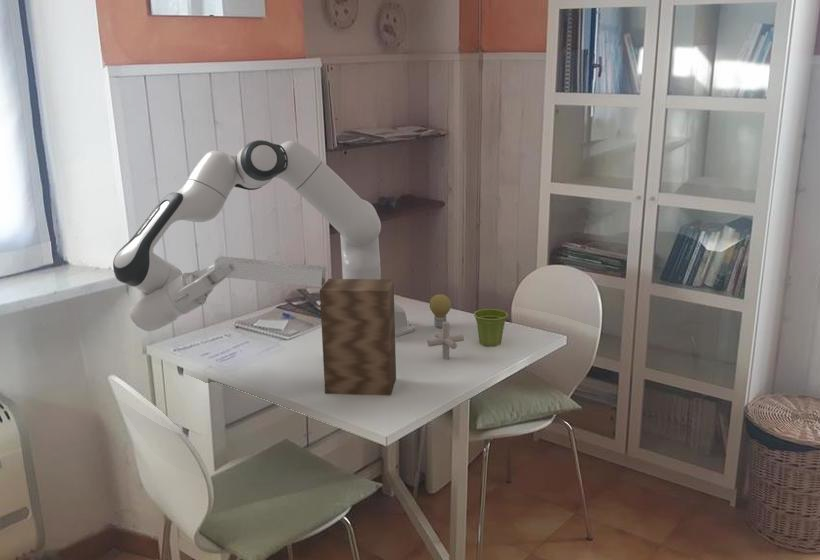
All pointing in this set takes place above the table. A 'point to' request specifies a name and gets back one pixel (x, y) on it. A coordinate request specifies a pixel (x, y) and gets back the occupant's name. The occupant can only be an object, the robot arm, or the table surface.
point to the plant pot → (490, 326)
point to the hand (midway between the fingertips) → (234, 265)
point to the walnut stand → (358, 336)
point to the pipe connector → (445, 340)
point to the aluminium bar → (273, 271)
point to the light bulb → (440, 308)
